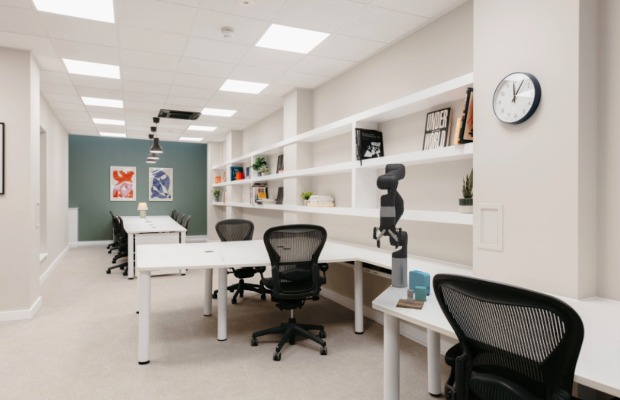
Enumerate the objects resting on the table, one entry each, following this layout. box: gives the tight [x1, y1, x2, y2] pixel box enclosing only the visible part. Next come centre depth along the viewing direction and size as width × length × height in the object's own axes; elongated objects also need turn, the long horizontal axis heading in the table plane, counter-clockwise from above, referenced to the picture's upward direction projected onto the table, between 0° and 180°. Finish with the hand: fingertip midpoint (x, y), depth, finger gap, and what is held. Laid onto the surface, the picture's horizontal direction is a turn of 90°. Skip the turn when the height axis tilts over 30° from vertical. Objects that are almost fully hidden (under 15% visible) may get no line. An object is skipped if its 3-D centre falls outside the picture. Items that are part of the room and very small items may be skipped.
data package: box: [408, 269, 431, 296], centre depth 212 cm, size 12×4×12 cm, turn 28°
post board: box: [395, 288, 425, 310], centre depth 189 cm, size 12×12×7 cm
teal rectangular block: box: [414, 286, 427, 302], centre depth 198 cm, size 5×5×7 cm
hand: (387, 248), depth 188 cm, fingers open, 8 cm apart
